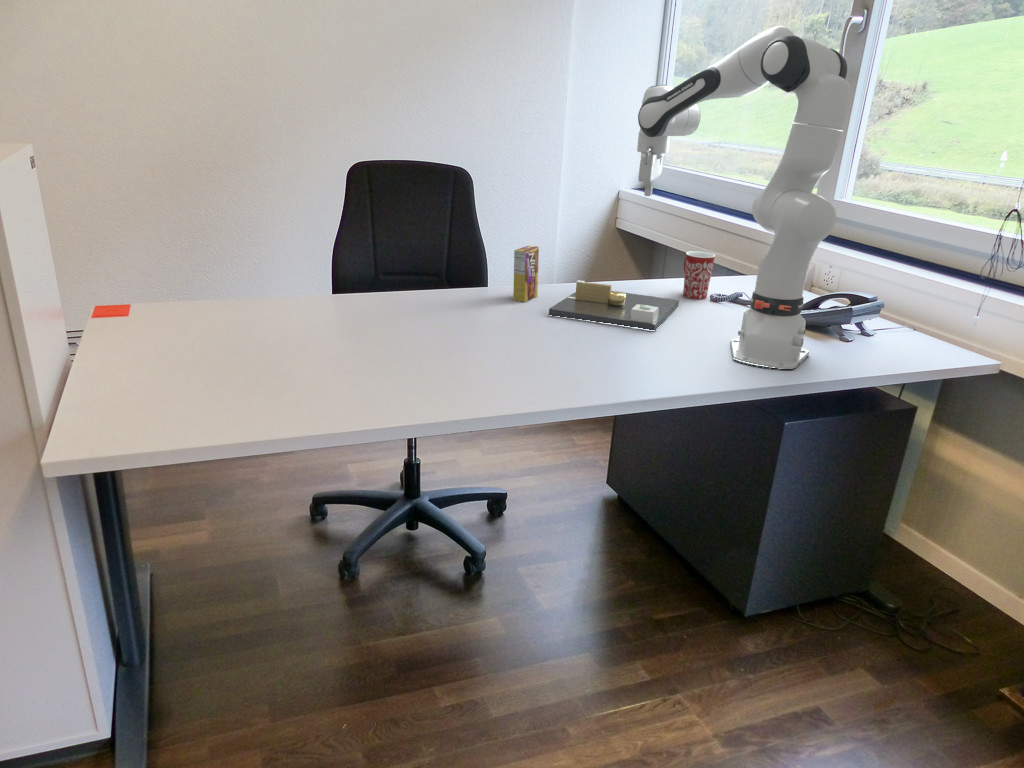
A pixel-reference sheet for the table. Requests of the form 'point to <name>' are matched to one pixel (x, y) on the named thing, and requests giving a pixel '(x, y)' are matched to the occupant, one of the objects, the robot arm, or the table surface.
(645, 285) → the table surface
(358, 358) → the table surface
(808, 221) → the robot arm
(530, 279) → the candy box
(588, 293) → the brass lever knob
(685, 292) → the mug
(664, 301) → the base plate
